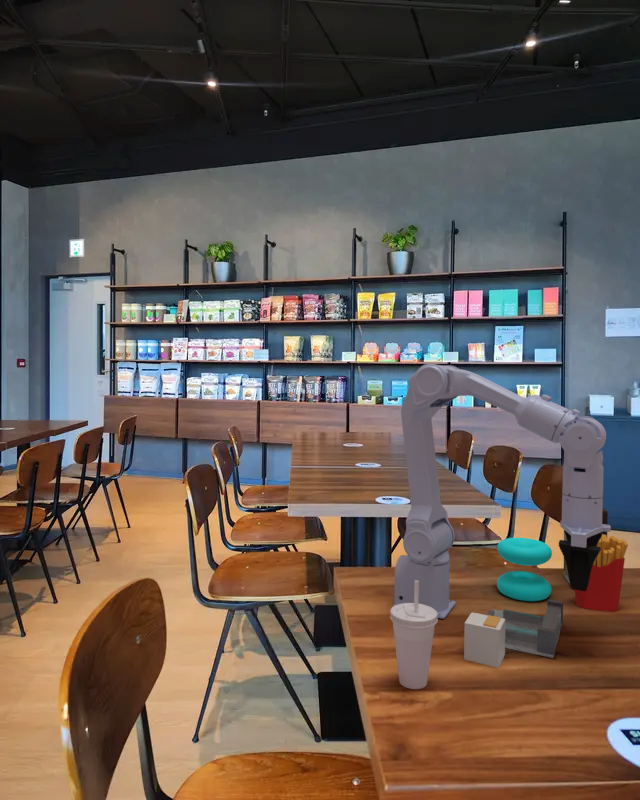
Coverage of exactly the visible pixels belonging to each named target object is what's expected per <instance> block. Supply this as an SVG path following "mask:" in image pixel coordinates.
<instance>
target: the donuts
mask: <svg viewBox="0 0 640 800" xmlns="http://www.w3.org/2000/svg"><path fill="white" fill-rule="evenodd" d="M496 549H497V552H498V555H499V556H500V557H501V558H502V559H504V560H505V561H506V562H507V561H508V562H509V563H512V564H515V565H520V566H527V567H528V566H529V567H530V566H539V565H540V566H541V565H543V564H546V563H547V562H549V561H550V560H551V558H552V556H553V551H552V548H551V547H550V545H548V544H547V543H545V542H543V541H541V540H537V539H533V538H528V537H508V538H504V539H501V540H500V541H499V542H498V544H497V546H496ZM496 587H497V590H498V592H500V593H501V594H502V595H504V596H506V597H507V598H510V599H514V600H518V601H524V602H538V601H539V602H540V601H542V600H546V599H547V598H548V597H550V595H551V593H552V585H551V583H550V582H549V581H548V580H547V579H546V578H545V577H543V576H542V575H539V574H537V573H534V572H530V571H525V570H510V571H507V572H504V573H502V574H501V575H500V576H499V577H498V578H497V581H496Z"/></svg>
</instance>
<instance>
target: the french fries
mask: <svg viewBox="0 0 640 800" xmlns="http://www.w3.org/2000/svg"><path fill="white" fill-rule="evenodd" d="M628 546H629V545H628V542H627V541H626V540H625V539H622V538H621V539H619V538H618V537H615V536H614V535H610V536H609V537H608V536H607V537H606V535H602V537H601V538H600V540H599V542H598V544H597V546H596V547H601V549H600V552H599V554H598V556H597V557H596V559H595V561H594V563H593V566H592V569H591V574H590V579H589V584H588V588H587V590H586V591H580V590H574V599H575V604H576V606H577V607H579V608H582V609H585V610H592V611H601V612H610V613H611V612H616V611H619V604H620V598H621V591H622V590H621V589H622V584H623V582H622V581H623V575H624V567H625V560H626V558H625V554H626V552H627V548H628Z"/></svg>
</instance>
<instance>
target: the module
mask: <svg viewBox="0 0 640 800" xmlns="http://www.w3.org/2000/svg"><path fill="white" fill-rule="evenodd" d="M463 638H464V639H463V642H464V644H463V645H464V647H463V648H464V649H463V650H464V651H463V660H464V661H469V662H473V663H477V664H480V665H481V664H482V665H486V666H490V667H494V668H497V669H499V668H500V666H501V664H502V663H503V660H504V657H505V655H506V648H505V619H504V618H501V617H496V616H491V615H487V614H484V613H483V614H482V613H477V612H471V613H470V614H469V616H468V617H467V619H466V620H465V622H464V634H463Z"/></svg>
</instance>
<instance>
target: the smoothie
mask: <svg viewBox="0 0 640 800" xmlns="http://www.w3.org/2000/svg"><path fill="white" fill-rule="evenodd" d="M418 598H419V581H418V580H415V582H414V603H403V604H398V605H395V606H394V607H393V606H392V607H391V608H390V614H389V615H390V616H389V618H390V620H391V622H392V627H393V628H392V629H393V635H394V636H393V637H394V643H395V644H394V645H395V646H394V647H395V653H396V662H397V672H398V682H399V684H400V685H402V686H403V687H404V688H406V689H407V688H408V689H410V690H420V689H424V688H425V687H426V686H427V685H428V678H429V670H430V664H431V663H430V662H431V655H432V647H433V641H434V635H435V634H434V633H435V626H436V625H437V623H438V622H439V621H438V619H439V618H437V612H436V610H434V609H433V608H431V607H429V606H427V605H423V604H418Z"/></svg>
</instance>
